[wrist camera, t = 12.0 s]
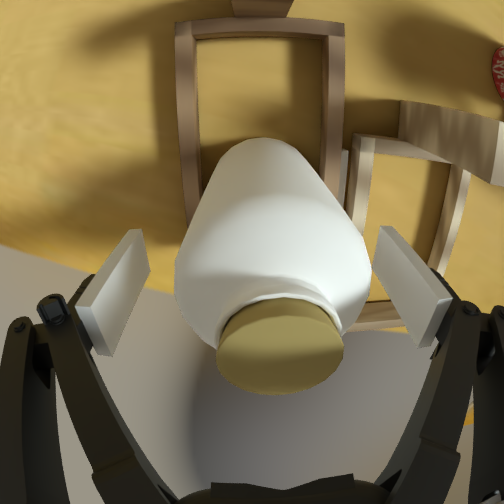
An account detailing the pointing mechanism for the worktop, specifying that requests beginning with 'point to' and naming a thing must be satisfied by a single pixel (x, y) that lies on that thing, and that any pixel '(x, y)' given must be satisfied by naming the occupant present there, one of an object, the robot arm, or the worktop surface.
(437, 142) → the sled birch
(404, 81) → the worktop surface
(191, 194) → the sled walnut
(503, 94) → the mug
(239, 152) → the potion bottle
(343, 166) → the lane divider
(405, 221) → the worktop surface
